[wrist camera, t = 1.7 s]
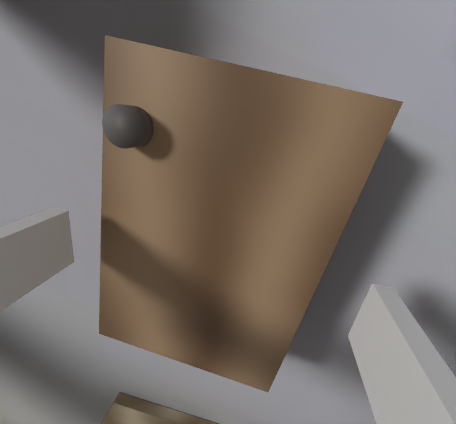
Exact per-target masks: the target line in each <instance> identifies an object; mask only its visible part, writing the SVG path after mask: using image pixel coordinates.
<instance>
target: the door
mask: <svg viewBox="0 0 456 424" xmlns="http://www.w3.org/2000/svg"><path fill="white" fill-rule="evenodd" d="M402 103H403V102H401V101H396V100H392V99H388V98H383V97H379V96H374V95H370V94H365V93H361V92H356V91H352V90H348V89H343V88H339V87H334V86H330V85H325V84H321V83H316V82H312V81H307V80H303V79H299V78H294V77H290V76H285V75H281V74H276V73H272V72H267V71H263V70H259V69H254V68H250V67H245V66H241V65H236V64H232V63H227V62H223V61H218V60H214V59H210V58H205V57H201V56H196V55H192V54H187V53H183V52H178V51H174V50H170V49H165V48H161V47H156V46H152V45H147V44H143V43H138V42H134V41H129V40H125V39H121V38H116V37H112V36H107V35H105V49H104V102H103V121H102V125H103V155H102V208H101V261H100V314H99V334H102V335H105V336H108V337H111V338H113V339H116V340H119V341H122V342H125V343H128V344H131V345H134V346H136V347H139V348H142V349H145V350H148V351H151V352H154V353H157V354H159V355H162V356H165V357H168V358H171V359H174V360H177V361H180V362H182V363H185V364H188V365H191V366H194V367H197V368H200V369H203V370H205V371H208V372H211V373H214V374H217V375H220V376H223V377H226V378H228V379H231V380H234V381H237V382H240V383H243V384H246V385H248V386H251V387H254V388H257V389H260V390H263V391H266V392H268V391H269V389H270V387H271V385H272V383H273V381H274V379H275V376H276V374H277V372H278V370H279V368H280V366H281V363H282V361H283V359H284V357H285V355H286V353H287V351H288V348H289V346H290V344H291V342H292V340H293V338H294V335H295V333H296V331H297V329H298V327H299V325H300V323H301V320H302V318H303V316H304V314H305V312H306V310H307V308H308V305H309V303H310V301H311V299H312V297H313V295H314V292H315V290H316V288H317V286H318V284H319V282H320V280H321V277H322V275H323V273H324V271H325V269H326V267H327V264H328V262H329V260H330V258H331V256H332V254H333V252H334V249H335V247H336V245H337V243H338V241H339V239H340V236H341V234H342V232H343V230H344V228H345V226H346V224H347V221H348V219H349V217H350V215H351V213H352V211H353V209H354V206H355V204H356V202H357V200H358V198H359V196H360V193H361V191H362V189H363V187H364V185H365V183H366V181H367V178H368V176H369V174H370V172H371V170H372V168H373V165H374V163H375V161H376V159H377V157H378V155H379V153H380V150H381V148H382V146H383V144H384V142H385V140H386V137H387V135H388V133H389V131H390V129H391V127H392V125H393V122H394V120H395V118H396V116H397V114H398V112H399V110H400V107H401V105H402Z"/></svg>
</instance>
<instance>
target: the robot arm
mask: <svg viewBox="0 0 456 424" xmlns="http://www.w3.org/2000/svg"><path fill="white" fill-rule="evenodd" d="M73 262H74V257H73V248H72V239H71V230H70V221H69V212H68V210H63V209H59V208H55V207H53V208H50V209H47V210H45V211H42V212H39V213H36V214H34V215H31V216H28V217H26V218H23V219H20V220H17V221H15V222H12V223H9V224H7V225H4V226H1V227H0V311H1V310H3V309H4V308H6V307H7V306H9V305H10V304H12V303H13V302H15V301H16V300H18V299H19V298H21V297H22V296H24V295H25V294H27V293H28V292H30V291H31V290H33V289H34V288H36V287H37V286H39V285H40V284H42V283H43V282H45V281H46V280H48V279H49V278H50V277H52V276H53V275H55V274H56V273H58V272H59V271H61V270H62V269H64V268H65V267H67V266H68V265H70V264H71V263H73ZM348 338H349V341H350V344H351V347H352V350H353V353H354V356H355V359H356V362H357V365H358V369H359V372H360V375H361V378H362V381H363V384H364V387H365V390H366V393H367V396H368V399H369V402H370V405H371V409H372V412H373V415H374V418H375V421H376V424H456V377H455V376H454V374H453V373H452V371H451V370H450V368H449V367H448V366H447V364H446V363H445V361H444V360H443V358H442V357H441V355H440V354H439V353H438V351H437V350H436V348H435V347H434V345H433V344H432V343H431V341H430V340H429V338H428V337H427V335H426V334H425V333H424V331H423V330H422V328H421V327H420V325H419V324H418V323H417V321H416V320H415V318H414V317H413V315H412V314H411V312H410V311H409V310H408V308H407V307H406V305H405V304H404V302H403V301H402V300H401V298H400V297H399V295H398V294H397V292H396V291H395V290H394V288H390V287H386V286H382V285H378V284H374V283H372V285H371V287H370V289H369V291H368V293H367V295H366V298H365V300H364V302H363V304H362V306H361V308H360V310H359V313H358V315H357V317H356V319H355V321H354V323H353V325H352V327H351V330H350V332H349V334H348Z"/></svg>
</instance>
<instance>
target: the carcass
mask: <svg viewBox="0 0 456 424" xmlns="http://www.w3.org/2000/svg"><path fill="white" fill-rule="evenodd" d="M102 424H217V423H214V422H210V421H207V420H204V419H201V418H198V417H195V416H192V415H189V414H185V413H182V412H179V411H176V410H173V409H170V408H167V407H164V406H160V405H157V404H154V403H151V402H148V401H145V400H142V399H138V398H135V397H132V396H129V395H126V394H123V393H119V394H118V396H117V398H116V400H115V401H114V403H113V405H112V406H111V408H110V410H109V412H108V413H107V415H106V417H105V419H104V420H103V422H102Z"/></svg>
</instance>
